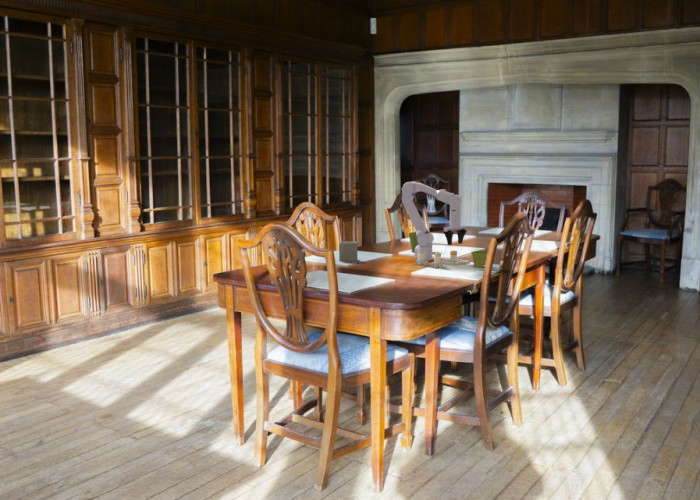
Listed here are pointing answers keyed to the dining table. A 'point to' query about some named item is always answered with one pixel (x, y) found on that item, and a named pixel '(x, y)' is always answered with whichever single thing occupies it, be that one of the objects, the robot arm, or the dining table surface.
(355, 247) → the grey block
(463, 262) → the tray
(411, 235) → the plant pot
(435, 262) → the fuse right
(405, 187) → the robot arm
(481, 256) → the plant pot
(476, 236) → the dining table surface
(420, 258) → the fuse left
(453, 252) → the cylinder
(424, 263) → the fuse holder
